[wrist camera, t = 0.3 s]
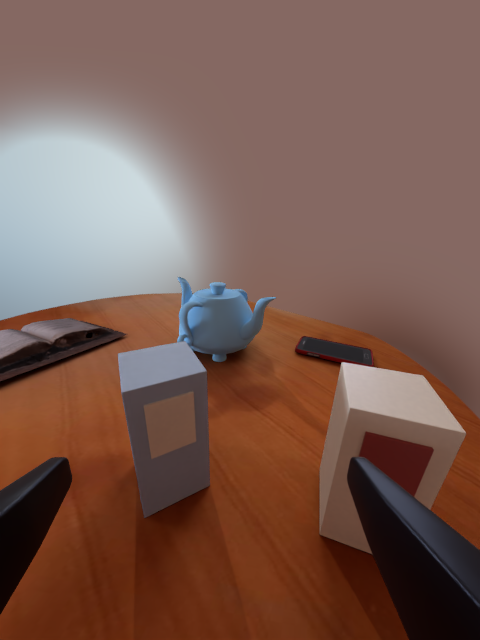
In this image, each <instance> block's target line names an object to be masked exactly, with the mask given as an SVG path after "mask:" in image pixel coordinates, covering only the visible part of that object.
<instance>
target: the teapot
mask: <svg viewBox="0 0 480 640" xmlns="http://www.w3.org/2000/svg"><path fill="white" fill-rule="evenodd" d="M178 280H179V282H180V284H181V287H182V304H181V305H182V308H181V309H180V312H179V320H180V326H179V335H180V336H179V337H178V340H177V342H183V341H186V343H187V344H188V345H189V347H190V348H191V350H192V351H198V352H201V353H205V354H213V358H212V359H213V360H214V361H216V362H223V361H225V360H226V359H227V357H226V354H229V353H233V352H236V351H239V350H241V349H245V348H246V347H247V346H246V345H248V344H249V343H250V342H251V341H252V340H253V338H254V336H255V335H256V334H258V332H259V331H260V329H261V327H262V323H263V316H264V310H265V308H266V305H267V304H268V303H269V302H270V301H272V300H274V299H275V298H276V297H268V298H262V299H260V300H259V301H258V302H257V303H256V306H255V309H254V312H253V313H252V311H251V309H250V307H249V305H248V303H247V299H248V298H247V293H246V292H245V291H244V290H241V289H235V290H232V289H225V286H226V284H225V283H221V282H214V283H211V284H210V288H211V289H203V290H199V291H197V292H195V293H194V294H193V295H192V291H191V288H190V286H189V283H188V282H187V281H186V280H185V279H183V278H181V277H178Z"/></svg>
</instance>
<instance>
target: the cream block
mask: <svg viewBox="0 0 480 640" xmlns="http://www.w3.org/2000/svg"><path fill="white" fill-rule="evenodd" d="M465 436H466V432H465V431H464V430H463V428H462V427H461V426H460V424H459V423H458V422H457V420H456V419H455V418H454V416H453V415H452V413H451V412H450V411H449V409H448V408H447V407H446V405H445V404H444V403H443V401H442V400H441V399H440V397H439V396H438V395H437V393H436V392H435V391H434V389H433V388H432V387H431V385H430V384H429V383H428V381H427V380H426V379H425V377H424V376H421V375H416V374H410V373H404V372H398V371H392V370H386V369H380V368H374V367H369V366H363V365H357V364H351V363H345V362H342V363H341V368H340V373H339V378H338V383H337V388H336V392H335V397H334V402H333V407H332V412H331V417H330V422H329V427H328V431H327V436H326V441H325V446H324V451H323V456H322V461H321V466H320V535H322V536H325V537H327V538H330V539H333V540H335V541H338V542H341V543H343V544H346V545H348V546H351V547H354V548H356V549H359V550H362V551H364V552H367V553H370V554H372V552H371V549H370V547H369V544H368V542H367V539H366V536H365V533H364V531H363V528H362V525H361V522H360V519H359V516H358V513H357V510H356V507H355V504H354V501H353V498H352V495H351V492H350V489H349V486H348V482H347V473H348V468H349V463H350V459H351V458H352V457H365V458H366V459H368V460H369V461H370V462H371V463H373V464H374V465H375V466H376V467H378V468H379V469H380V470H381V471H383V472H384V473H385V474H386V475H387V476H389V477H390V478H391V479H392V480H394V481H395V482H396V483H397V484H399V485H400V486H401V487H402V488H404V489H405V490H406V491H407V492H408V493H410V494H411V495H412V496H413V497H415V498H416V499H417V500H418V501H420V502H421V503H422V504H423V505H424V506H426V507H427V508H428V509H429V510H430V509H431V507H432V505H433V502H434V500H435V498H436V496H437V494H438V492H439V490H440V488H441V486H442V484H443V482H444V479H445V477H446V475H447V473H448V471H449V469H450V467H451V465H452V463H453V461H454V459H455V456H456V454H457V452H458V450H459V448H460V446H461V444H462V442H463V440H464V438H465ZM372 555H373V554H372Z"/></svg>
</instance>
